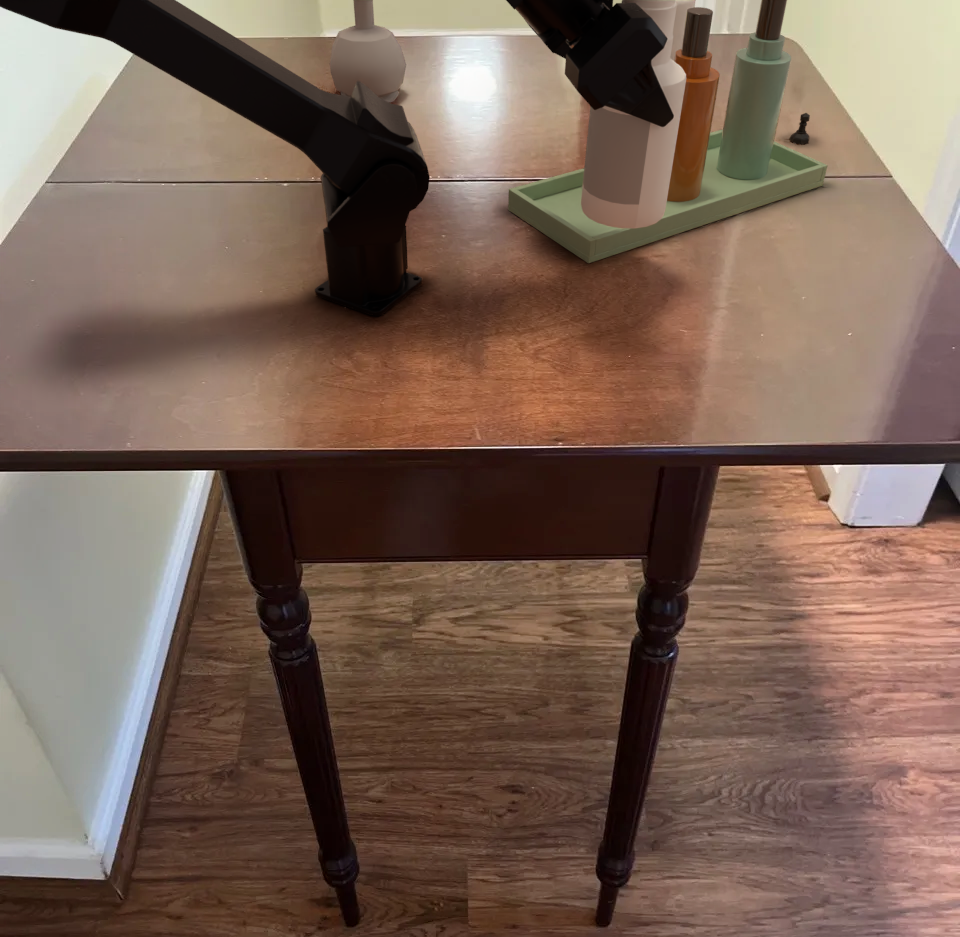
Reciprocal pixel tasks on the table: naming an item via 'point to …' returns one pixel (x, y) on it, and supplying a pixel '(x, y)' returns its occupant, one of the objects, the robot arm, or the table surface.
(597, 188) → the spray bottle
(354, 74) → the potion bottle
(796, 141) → the chess pawn
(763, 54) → the celadon bottle
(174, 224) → the table surface
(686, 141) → the amber bottle
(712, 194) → the tray
